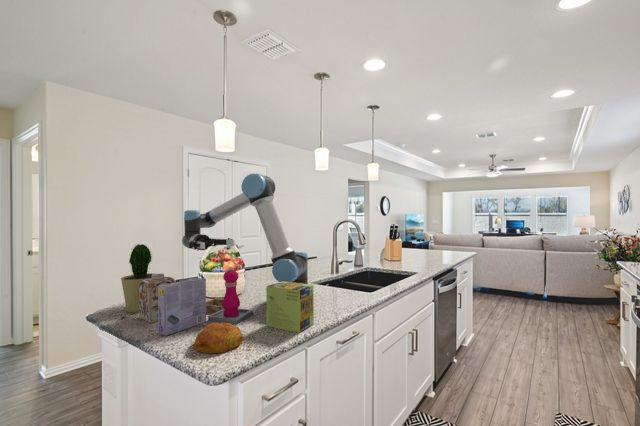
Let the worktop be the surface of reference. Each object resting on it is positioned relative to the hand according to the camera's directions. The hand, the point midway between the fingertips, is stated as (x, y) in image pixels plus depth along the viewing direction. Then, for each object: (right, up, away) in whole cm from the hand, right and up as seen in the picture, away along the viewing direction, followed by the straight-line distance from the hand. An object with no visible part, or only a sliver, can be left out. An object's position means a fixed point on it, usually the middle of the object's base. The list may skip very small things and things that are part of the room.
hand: (219, 244), depth 144 cm
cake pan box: (-8, -30, -18) cm, 36 cm away
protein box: (+32, -30, -17) cm, 47 cm away
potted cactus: (-38, -30, +7) cm, 49 cm away
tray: (+7, -30, -7) cm, 31 cm away
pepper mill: (+7, -29, -7) cm, 30 cm away
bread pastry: (+10, -30, -35) cm, 48 cm away
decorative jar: (-24, -30, -5) cm, 39 cm away
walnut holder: (-2, -30, +5) cm, 30 cm away
